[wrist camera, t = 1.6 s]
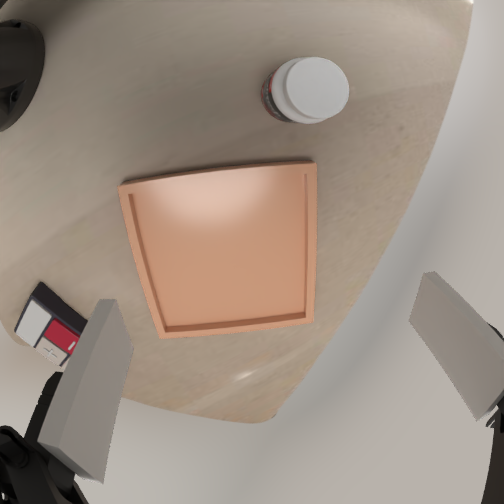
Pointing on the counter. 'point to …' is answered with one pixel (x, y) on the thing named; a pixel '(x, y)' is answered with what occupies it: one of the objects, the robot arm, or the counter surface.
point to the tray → (225, 247)
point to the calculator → (50, 326)
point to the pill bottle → (305, 90)
